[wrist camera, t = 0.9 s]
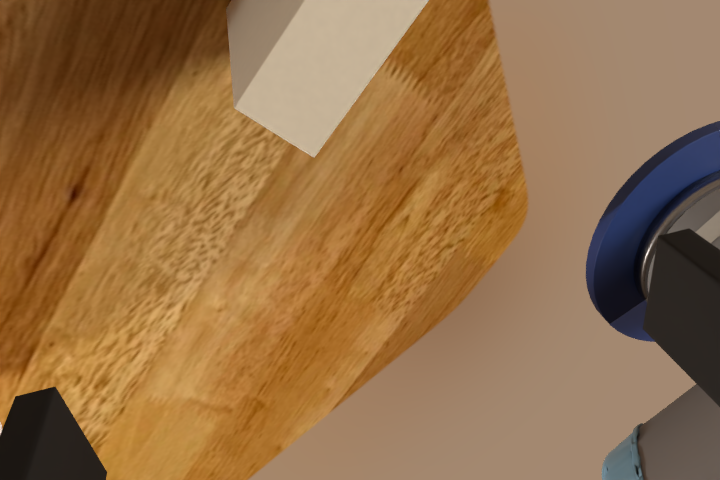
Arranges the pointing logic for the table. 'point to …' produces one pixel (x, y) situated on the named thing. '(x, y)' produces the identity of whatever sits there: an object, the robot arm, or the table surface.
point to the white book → (309, 60)
